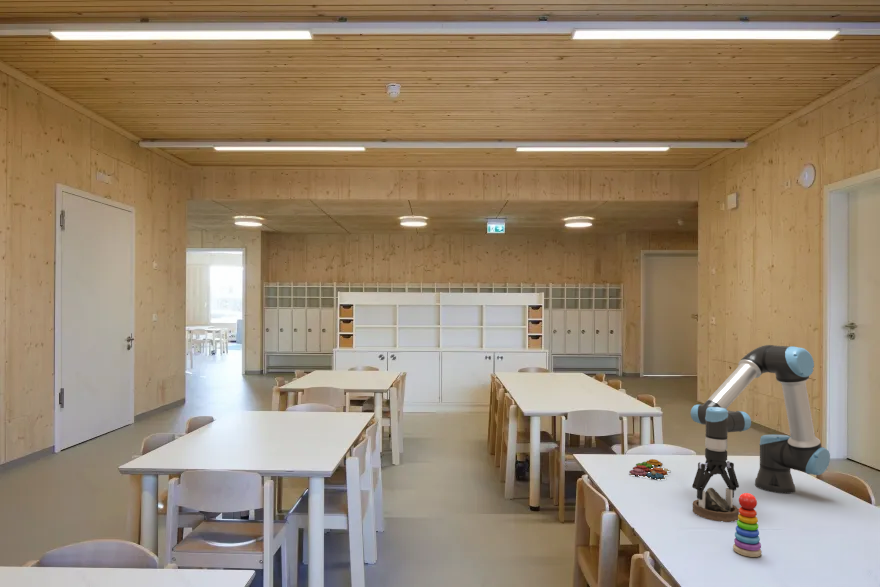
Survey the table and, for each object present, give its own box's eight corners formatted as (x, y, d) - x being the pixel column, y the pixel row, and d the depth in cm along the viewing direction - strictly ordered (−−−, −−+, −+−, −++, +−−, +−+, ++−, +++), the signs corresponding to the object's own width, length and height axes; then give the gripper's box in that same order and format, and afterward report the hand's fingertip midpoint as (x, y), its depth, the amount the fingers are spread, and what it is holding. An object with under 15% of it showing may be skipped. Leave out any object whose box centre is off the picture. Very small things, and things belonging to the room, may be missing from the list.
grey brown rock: (736, 515, 205) (722, 491, 205) (713, 526, 206) (699, 501, 207) (727, 504, 215) (713, 481, 216) (705, 514, 217) (691, 491, 218)
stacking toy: (727, 547, 181) (728, 489, 181) (751, 547, 182) (751, 489, 182) (742, 558, 173) (743, 497, 174) (767, 558, 174) (767, 497, 174)
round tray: (718, 505, 220) (718, 498, 220) (748, 520, 205) (748, 512, 205) (684, 507, 217) (684, 500, 217) (711, 522, 202) (711, 514, 202)
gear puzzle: (640, 461, 285) (640, 453, 285) (674, 467, 277) (674, 458, 277) (627, 476, 258) (627, 468, 258) (665, 483, 250) (665, 474, 250)
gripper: (735, 445, 218) (735, 502, 217) (682, 447, 213) (681, 505, 212) (750, 450, 211) (749, 509, 210) (695, 452, 206) (694, 512, 205)
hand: (715, 507), depth 211 cm, fingers open, 11 cm apart
